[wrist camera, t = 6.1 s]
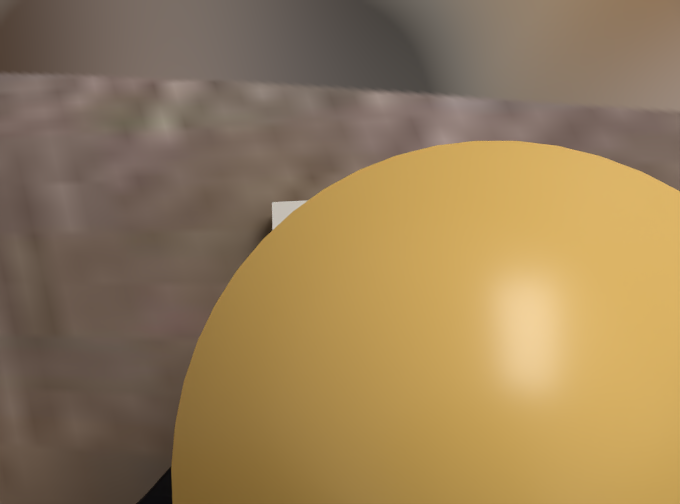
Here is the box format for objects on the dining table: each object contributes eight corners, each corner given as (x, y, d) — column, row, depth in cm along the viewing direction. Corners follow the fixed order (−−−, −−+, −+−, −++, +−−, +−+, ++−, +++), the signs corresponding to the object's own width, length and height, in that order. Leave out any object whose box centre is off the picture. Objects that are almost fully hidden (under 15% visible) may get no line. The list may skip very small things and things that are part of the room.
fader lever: (448, 389, 13) (986, 983, 2) (331, 391, 13) (160, 921, 2) (439, 256, 14) (796, 81, 2) (327, 261, 14) (179, 121, 3)
